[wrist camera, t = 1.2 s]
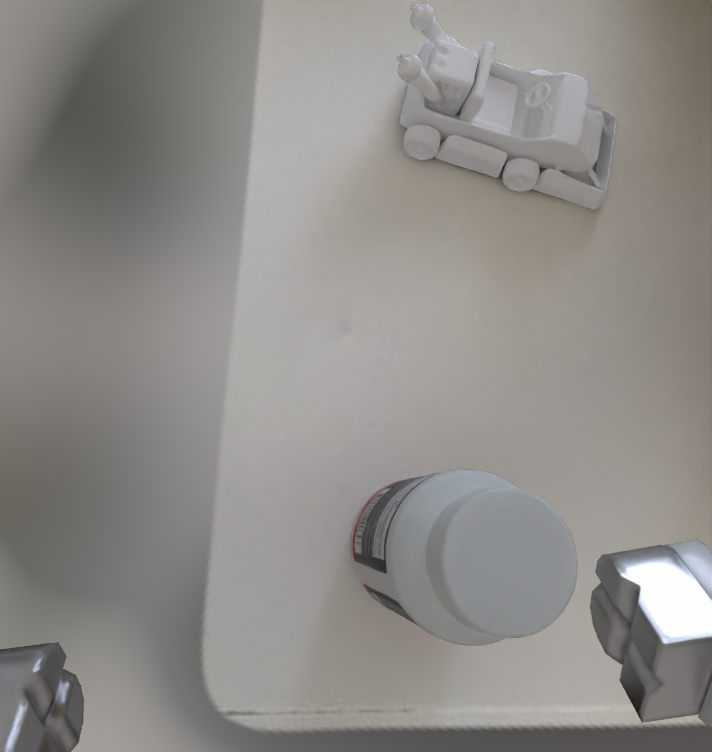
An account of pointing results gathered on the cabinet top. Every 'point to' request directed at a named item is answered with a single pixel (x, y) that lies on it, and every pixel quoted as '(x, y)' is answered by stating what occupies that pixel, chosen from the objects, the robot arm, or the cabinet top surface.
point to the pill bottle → (465, 556)
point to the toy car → (504, 117)
